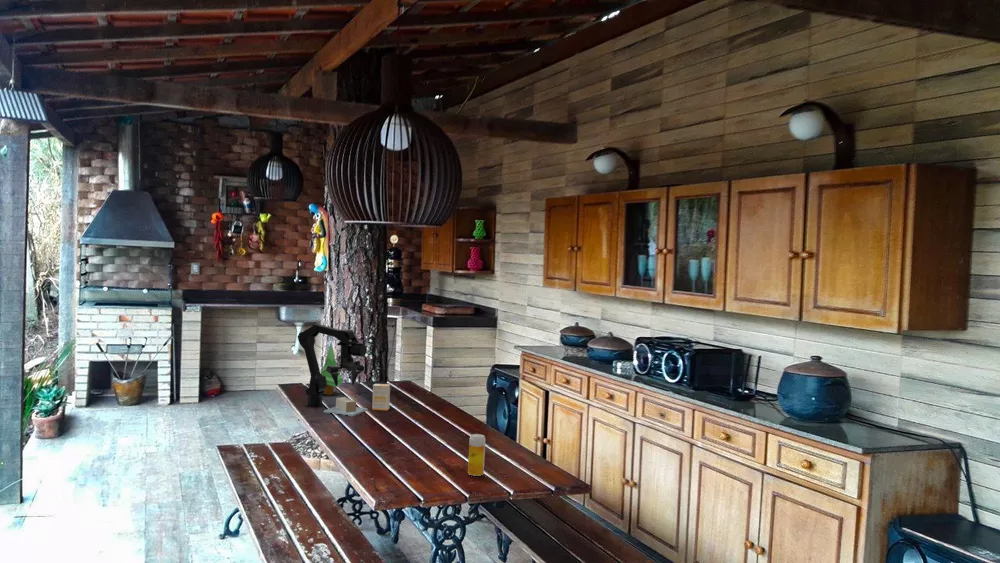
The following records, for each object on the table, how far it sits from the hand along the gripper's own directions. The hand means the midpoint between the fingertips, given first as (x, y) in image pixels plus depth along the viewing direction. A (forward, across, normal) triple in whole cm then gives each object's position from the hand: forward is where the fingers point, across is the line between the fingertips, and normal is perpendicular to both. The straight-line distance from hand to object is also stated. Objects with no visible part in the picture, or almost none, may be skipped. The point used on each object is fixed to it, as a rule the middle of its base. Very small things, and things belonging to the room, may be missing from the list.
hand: (344, 385), depth 369 cm
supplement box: (+13, +18, -6) cm, 23 cm away
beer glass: (+13, -6, -118) cm, 119 cm away
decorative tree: (+13, +11, +39) cm, 43 cm away
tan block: (+9, 0, +3) cm, 10 cm away
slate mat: (+13, 0, -2) cm, 13 cm away
